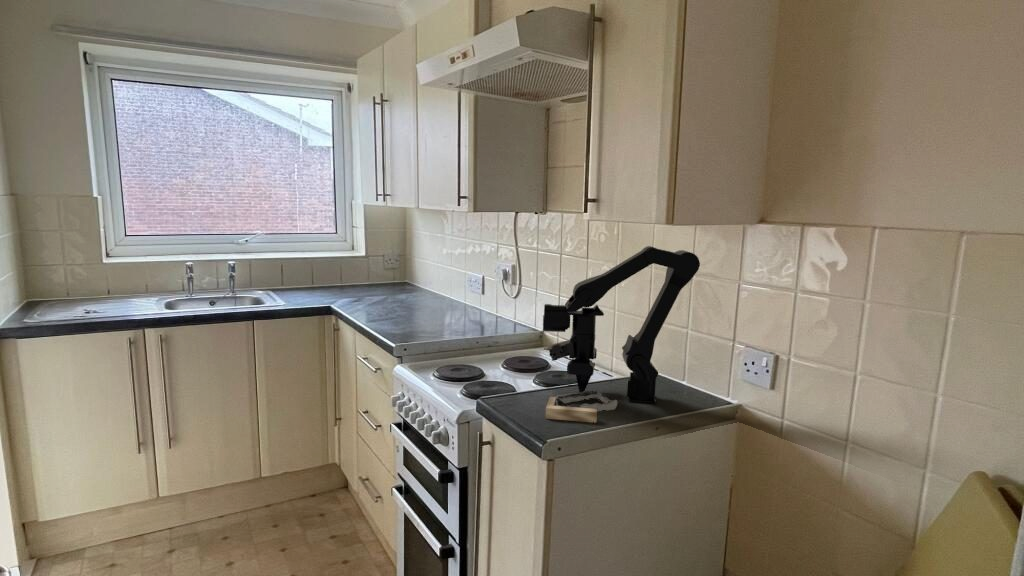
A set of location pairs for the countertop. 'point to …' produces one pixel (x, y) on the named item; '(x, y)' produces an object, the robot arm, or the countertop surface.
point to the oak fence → (569, 412)
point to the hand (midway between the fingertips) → (581, 392)
